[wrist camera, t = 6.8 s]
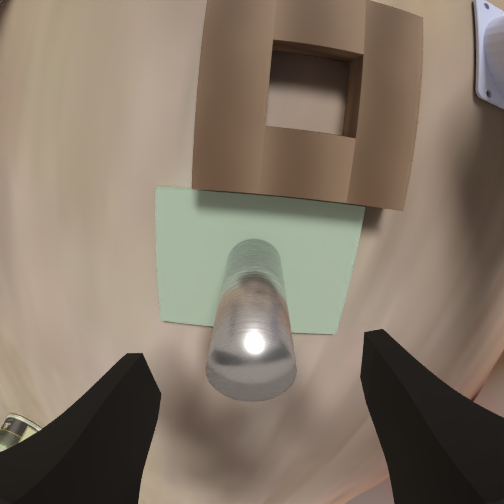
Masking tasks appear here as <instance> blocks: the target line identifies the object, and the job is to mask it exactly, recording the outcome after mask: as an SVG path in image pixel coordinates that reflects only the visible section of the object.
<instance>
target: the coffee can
mask: <svg viewBox="0 0 504 504" xmlns="http://www.w3.org/2000/svg"><path fill="white" fill-rule="evenodd" d="M41 429H42V428H40V427H39V426H38V425H36V424H34V423H33V422H31V421H29V420H28V419H26V418H24V417H22V416H19V415H16V414H9V415H8V416H7V419H6V420H5V422H4V424H3V426H2V427H1V429H0V452H1V451H3V450H6V449H8V448H10V447H12V446H14V445H16V444H18V443H20V442H21V441H23V440H25V439H26V438H28V437H30V436H31V435H33V434H35V433H36V432H38V431H40V430H41Z"/></svg>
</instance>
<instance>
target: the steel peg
mask: <svg viewBox="0 0 504 504" xmlns="http://www.w3.org/2000/svg"><path fill="white" fill-rule="evenodd" d="M206 376H207V378H208V380H209V382H210V384H211V385H212V386H213V387H214V388H215V389H216V390H217V391H219V392H220V393H222V394H223V395H225V396H227V397H230V398H233V399H236V400H240V401H249V402H254V401H263V400H268V399H271V398H274V397H276V396H278V395H280V394H282V393H283V392H285V391H286V390H287V389H288V388H289V387H290V386H291V385H292V383H293V382H294V380H295V377H296V362H295V354H294V347H293V340H292V332H291V325H290V318H289V311H288V304H287V297H286V290H285V283H284V277H283V270H282V263H281V258H280V255H279V252H278V251H277V249H276V248H275V247H274V246H273V245H272V244H270V243H269V242H267V241H264V240H261V239H247V240H244V241H241V242H240V243H238V244H237V245H235V246H234V247H233V248H232V250H231V251H230V253H229V255H228V259H227V264H226V268H225V273H224V278H223V283H222V288H221V292H220V297H219V302H218V307H217V312H216V317H215V322H214V327H213V332H212V337H211V342H210V347H209V352H208V357H207V362H206Z"/></svg>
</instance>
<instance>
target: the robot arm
mask: <svg viewBox="0 0 504 504" xmlns="http://www.w3.org/2000/svg"><path fill="white" fill-rule="evenodd" d="M473 2H474V13H475V28H476V88H475V90H476V94H477V96H478V97H479V98H480V99H483V100H485V101H487V102H489V103H491V104H493V105H495V106H498V107H500V108H502V109H504V12H503V11H502V10H500V9H499V8H497V7H495V6H494V5H492V4H490V3H489V2H487V1H485V0H474V1H473ZM484 5H485V6H484ZM485 7H486V8H485ZM486 92H488V97H487V95H486ZM360 378H361V382H362V387H363V391H364V395H365V400H366V404H367V407H368V409H369V412H370V415H371V418H372V421H373V423H374V426H375V429H376V432H377V435H378V438H379V440H380V443H381V446H382V449H383V452H384V455H385V458H386V462H387V465H388V470H389V475H390V480H391V485H392V491H393V497H394V503H395V504H504V418H503V417H501V416H499V415H497V414H495V413H493V412H491V411H489V410H487V409H485V408H483V407H481V406H479V405H478V404H476V403H474V402H473V401H471V400H469V399H468V398H466V397H465V396H463V395H461V394H460V393H458V392H457V391H455V390H454V389H453V388H451V387H450V386H448V385H447V384H446V383H444V382H443V381H442V380H440V379H439V378H438V377H436V376H435V375H434V374H433V373H432V372H430V371H429V370H428V369H427V368H426V367H424V366H423V365H422V364H421V363H420V362H419V361H417V360H416V359H415V358H414V357H413V356H412V355H411V354H409V353H408V352H407V351H406V350H405V349H404V348H403V347H402V346H401V345H400V344H399V343H397V342H396V341H395V340H394V339H393V338H392V337H391V336H390V335H389V334H388V333H387V332H385V331H384V330H383V329H380V330H374V331H369V332H364V345H363V356H362V366H361V375H360ZM160 400H161V392H160V390H159V388H158V386H157V384H156V382H155V380H154V378H153V376H152V373H151V371H150V369H149V367H148V365H147V362H146V360H145V358H144V356H143V353H127V354H126V355H125V356H123V357H122V358H121V359H120V360H119V361H118V362H117V363H116V364H115V365H114V366H113V367H112V368H111V369H110V370H109V371H108V372H107V373H106V374H105V375H104V376H103V377H102V378H101V379H100V380H99V381H97V382H96V383H95V384H94V385H93V386H92V387H91V388H90V389H89V390H88V391H87V392H86V393H85V394H84V395H83V396H82V397H81V398H80V399H78V400H77V401H76V402H75V403H74V404H73V405H72V406H71V407H69V408H68V409H67V410H66V411H65V412H64V413H62V414H61V415H60V416H59V417H57V418H56V419H55V420H54V421H52V422H51V423H49V424H48V425H47V426H45V427H44V428H42V429H41V430H40V431H38V432H36V433H35V434H33V435H31V436H30V437H28V438H26V439H25V440H23V441H21V442H20V443H18V444H16V445H14V446H12V447H10V448H8V449H6V450H3V451H1V452H0V504H138V499H139V491H140V484H141V478H142V474H143V469H144V466H145V462H146V459H147V455H148V452H149V448H150V445H151V441H152V438H153V434H154V431H155V427H156V423H157V420H158V414H159V407H160Z"/></svg>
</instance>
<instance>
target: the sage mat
mask: <svg viewBox="0 0 504 504" xmlns="http://www.w3.org/2000/svg"><path fill="white" fill-rule="evenodd" d="M365 208H366V207H365V206H364V205H356V204H349V203H340V202H332V201H324V200H315V199H306V198H296V197H286V196H276V195H265V194H254V193H242V192H229V191H215V190H199V189H192V188H185V187H166V186H158V187H156V188H155V225H156V256H157V276H158V292H159V306H160V318H161V321H168V322H176V323H185V324H194V325H203V326H213V327H214V322H215V317H216V312H217V307H218V302H219V297H220V292H221V288H222V283H223V278H224V273H225V268H226V264H227V259H228V255H229V253H230V251H231V250H232V248H233V247H234V246H235V245H237V244H238V243H240V242H241V241H244V240H247V239H261V240H264V241H267V242H269V243H270V244H272V245H273V246H274V247H275V248H276V249H277V251H278V252H279V255H280V258H281V263H282V270H283V277H284V283H285V290H286V297H287V304H288V311H289V318H290V325H291V332H293V333H314V334H336V332H337V328H338V325H339V321H340V318H341V314H342V310H343V306H344V303H345V299H346V295H347V291H348V287H349V283H350V278H351V274H352V270H353V266H354V261H355V257H356V252H357V248H358V243H359V238H360V233H361V228H362V223H363V218H364V213H365Z"/></svg>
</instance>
